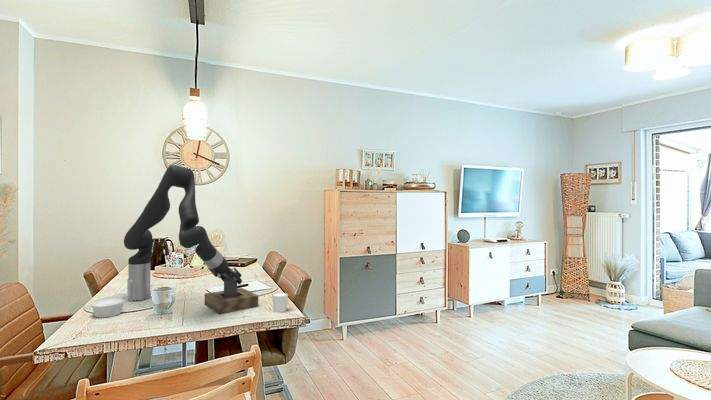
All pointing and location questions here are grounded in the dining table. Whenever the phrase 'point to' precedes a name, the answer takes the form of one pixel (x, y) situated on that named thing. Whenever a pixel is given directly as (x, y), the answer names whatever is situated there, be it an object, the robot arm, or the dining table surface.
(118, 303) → the ramekin
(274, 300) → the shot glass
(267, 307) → the dining table surface
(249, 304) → the holder block
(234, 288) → the bottle
